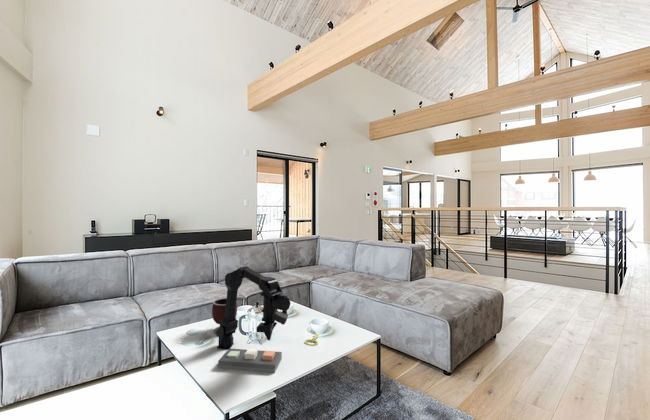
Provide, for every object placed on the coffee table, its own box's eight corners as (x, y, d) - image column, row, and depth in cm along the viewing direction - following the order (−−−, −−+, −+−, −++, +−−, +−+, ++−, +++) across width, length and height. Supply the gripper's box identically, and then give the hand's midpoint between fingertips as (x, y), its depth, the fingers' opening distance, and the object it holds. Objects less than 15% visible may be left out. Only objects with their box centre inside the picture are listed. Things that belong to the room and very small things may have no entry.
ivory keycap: (244, 359, 141) (244, 353, 141) (248, 354, 145) (248, 349, 145) (254, 360, 140) (254, 354, 140) (257, 355, 145) (257, 349, 145)
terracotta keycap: (262, 360, 140) (262, 355, 140) (265, 355, 144) (265, 350, 144) (272, 361, 139) (272, 355, 139) (275, 356, 144) (275, 351, 144)
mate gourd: (227, 336, 171) (228, 301, 171) (206, 333, 175) (207, 298, 175) (242, 326, 186) (243, 293, 186) (222, 323, 190) (223, 291, 190)
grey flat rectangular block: (218, 368, 138) (218, 360, 138) (229, 355, 150) (229, 348, 150) (274, 372, 136) (275, 364, 136) (281, 359, 148) (281, 352, 147)
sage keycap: (226, 360, 142) (226, 355, 142) (230, 355, 146) (230, 350, 146) (236, 361, 141) (236, 356, 141) (240, 356, 146) (240, 351, 146)
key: (319, 336, 175) (319, 332, 175) (317, 346, 162) (317, 342, 162) (306, 336, 175) (306, 332, 175) (304, 346, 163) (304, 342, 163)
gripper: (281, 314, 132) (281, 350, 132) (291, 301, 150) (290, 332, 150) (256, 313, 133) (255, 348, 133) (268, 299, 151) (268, 331, 151)
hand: (269, 340), depth 142 cm, fingers closed
